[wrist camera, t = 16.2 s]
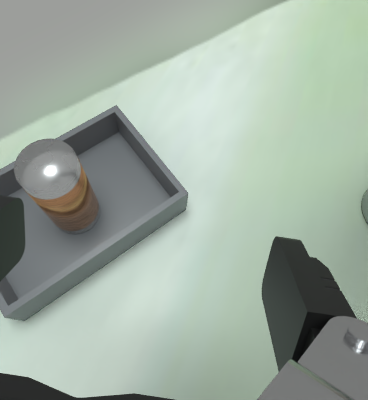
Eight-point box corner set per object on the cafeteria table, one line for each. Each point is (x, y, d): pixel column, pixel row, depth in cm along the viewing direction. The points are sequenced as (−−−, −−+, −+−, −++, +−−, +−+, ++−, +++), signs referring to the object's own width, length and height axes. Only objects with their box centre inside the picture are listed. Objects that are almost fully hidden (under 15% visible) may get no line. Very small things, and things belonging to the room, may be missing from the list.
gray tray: (121, 128, 52) (116, 105, 47) (185, 209, 48) (188, 193, 43) (-34, 217, 46) (-59, 201, 41) (24, 320, 41) (4, 317, 36)
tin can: (105, 194, 47) (84, 142, 35) (94, 237, 45) (68, 198, 33) (60, 188, 47) (24, 134, 35) (47, 230, 45) (4, 188, 33)
